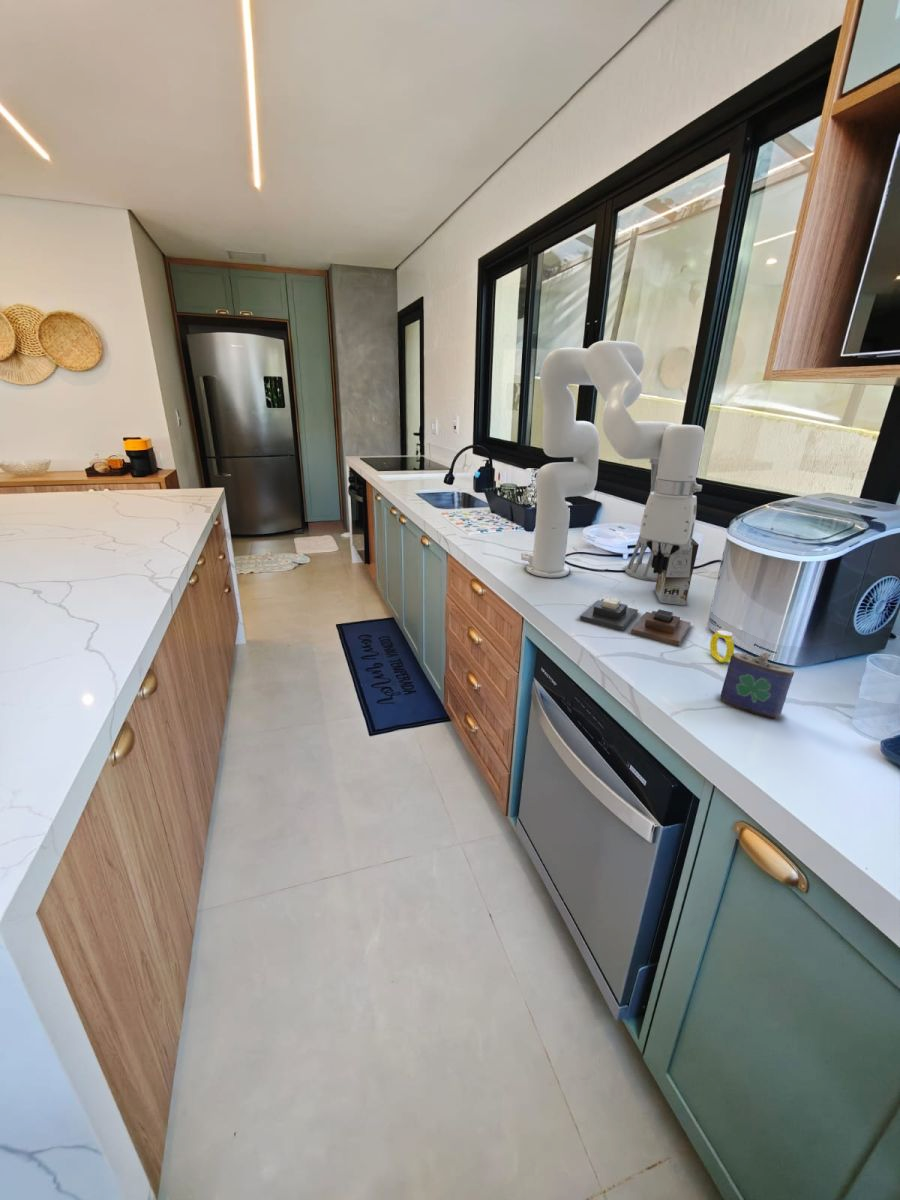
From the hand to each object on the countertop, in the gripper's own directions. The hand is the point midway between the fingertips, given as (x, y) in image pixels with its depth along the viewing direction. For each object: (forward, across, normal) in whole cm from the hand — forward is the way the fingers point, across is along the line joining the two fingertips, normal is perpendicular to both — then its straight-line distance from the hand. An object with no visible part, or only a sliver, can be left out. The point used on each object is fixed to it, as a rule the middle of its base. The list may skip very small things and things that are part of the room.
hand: (658, 571), depth 111 cm
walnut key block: (+13, -3, 0) cm, 14 cm away
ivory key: (+11, +9, 0) cm, 14 cm away
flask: (+14, -23, +22) cm, 35 cm away
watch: (+14, -16, +7) cm, 22 cm away
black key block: (+13, +9, 0) cm, 16 cm away
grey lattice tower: (+13, +11, -39) cm, 43 cm away
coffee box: (+14, 0, -22) cm, 26 cm away
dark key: (+11, -3, 0) cm, 11 cm away
